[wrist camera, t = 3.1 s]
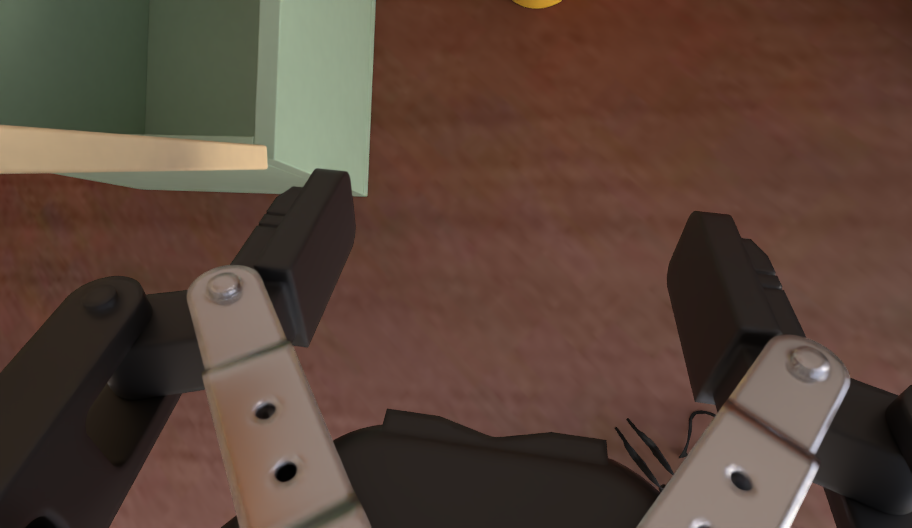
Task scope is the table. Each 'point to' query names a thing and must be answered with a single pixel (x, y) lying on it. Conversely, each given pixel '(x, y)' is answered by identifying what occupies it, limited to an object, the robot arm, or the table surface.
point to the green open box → (199, 81)
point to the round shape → (536, 3)
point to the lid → (118, 152)
